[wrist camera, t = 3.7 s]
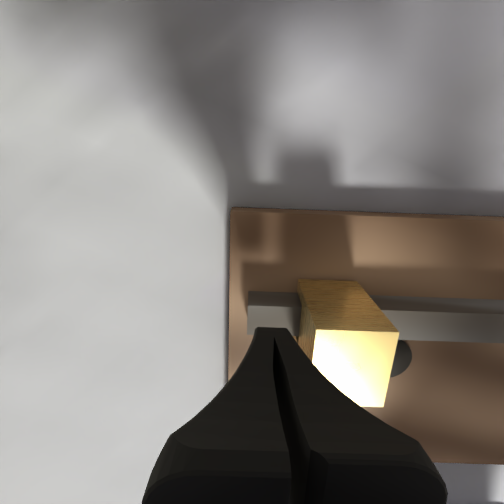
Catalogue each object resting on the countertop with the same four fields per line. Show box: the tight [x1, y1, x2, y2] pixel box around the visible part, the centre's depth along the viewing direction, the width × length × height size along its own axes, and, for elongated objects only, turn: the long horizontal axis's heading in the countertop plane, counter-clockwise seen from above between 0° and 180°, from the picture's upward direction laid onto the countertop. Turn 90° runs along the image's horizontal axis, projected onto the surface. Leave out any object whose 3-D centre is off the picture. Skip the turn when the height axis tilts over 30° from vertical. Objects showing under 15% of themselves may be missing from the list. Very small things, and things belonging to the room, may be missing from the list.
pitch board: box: [228, 207, 504, 465], centre depth 15 cm, size 16×21×7 cm
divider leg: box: [293, 279, 400, 407], centre depth 14 cm, size 5×3×5 cm, turn 178°
